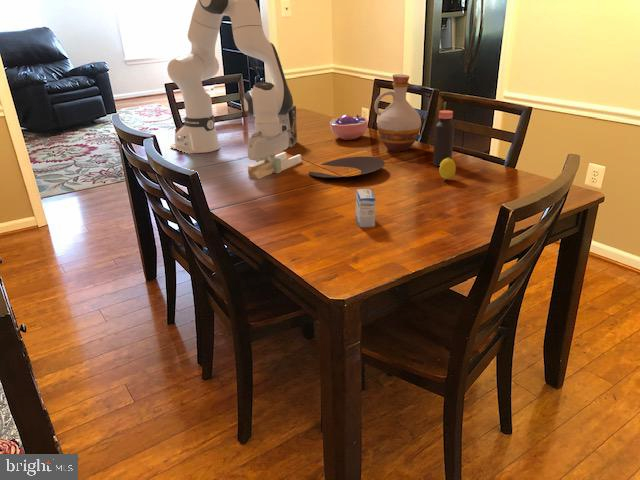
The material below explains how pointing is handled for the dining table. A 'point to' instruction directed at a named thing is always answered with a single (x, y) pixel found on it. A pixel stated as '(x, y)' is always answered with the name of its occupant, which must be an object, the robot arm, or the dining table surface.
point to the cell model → (349, 126)
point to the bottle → (443, 137)
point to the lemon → (447, 168)
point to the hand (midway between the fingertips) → (269, 166)
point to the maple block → (260, 169)
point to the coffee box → (290, 125)
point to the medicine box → (365, 208)
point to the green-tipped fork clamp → (283, 162)
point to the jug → (398, 118)
